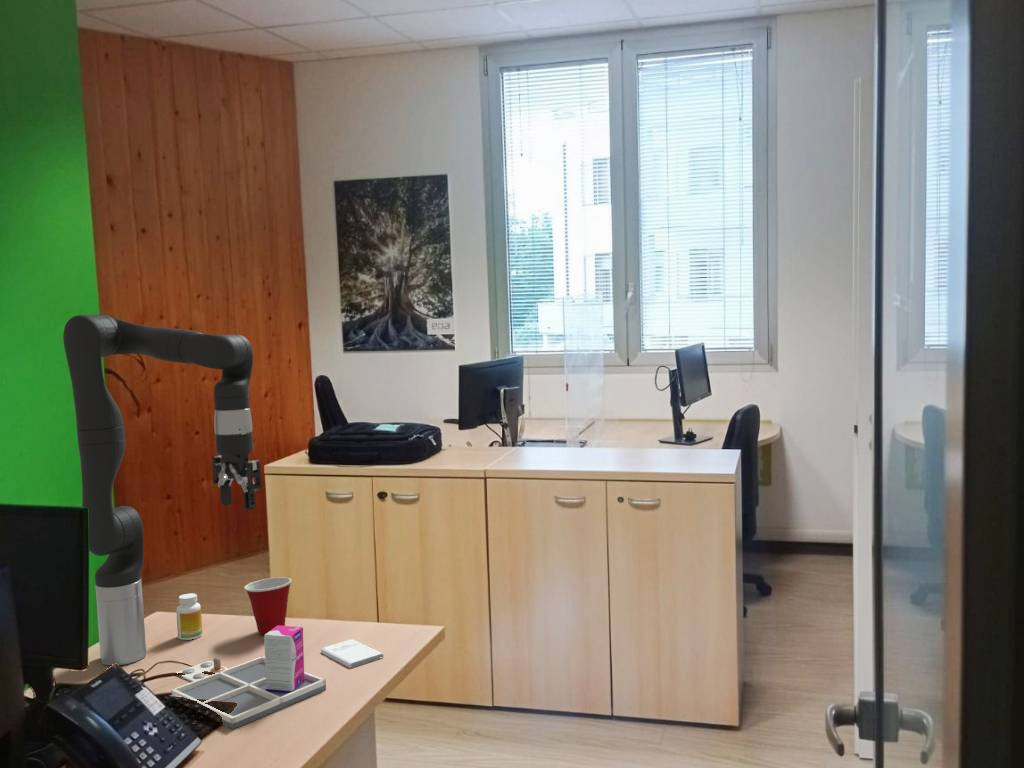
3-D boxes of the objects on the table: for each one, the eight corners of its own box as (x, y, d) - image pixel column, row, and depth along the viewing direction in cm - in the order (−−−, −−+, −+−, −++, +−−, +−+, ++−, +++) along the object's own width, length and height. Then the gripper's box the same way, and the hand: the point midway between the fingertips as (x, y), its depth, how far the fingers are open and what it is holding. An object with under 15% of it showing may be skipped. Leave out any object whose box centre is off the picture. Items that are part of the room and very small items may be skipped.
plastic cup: (270, 621, 220) (268, 572, 219) (304, 627, 215) (301, 578, 214) (236, 635, 211) (233, 585, 210) (270, 643, 205) (267, 591, 204)
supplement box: (293, 694, 175) (290, 636, 174) (265, 692, 176) (261, 635, 175) (306, 681, 181) (303, 625, 180) (278, 680, 182) (275, 624, 181)
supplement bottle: (207, 635, 212) (204, 594, 211) (186, 642, 207) (183, 601, 207) (194, 630, 215) (191, 590, 214) (173, 637, 211) (170, 597, 210)
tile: (175, 674, 189) (174, 661, 189) (209, 662, 195) (209, 649, 195) (196, 683, 184) (195, 670, 184) (230, 670, 190) (229, 658, 190)
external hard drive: (350, 671, 189) (320, 654, 199) (383, 660, 195) (353, 645, 204) (350, 663, 189) (320, 647, 199) (383, 653, 195) (353, 638, 204)
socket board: (171, 699, 177) (171, 689, 176) (263, 665, 192) (263, 655, 192) (232, 729, 163) (232, 718, 163) (326, 689, 179) (325, 679, 179)
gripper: (198, 430, 190) (203, 506, 192) (237, 435, 181) (241, 514, 183) (230, 426, 196) (234, 500, 197) (269, 430, 187) (273, 507, 188)
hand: (238, 507), depth 190 cm, fingers open, 8 cm apart
